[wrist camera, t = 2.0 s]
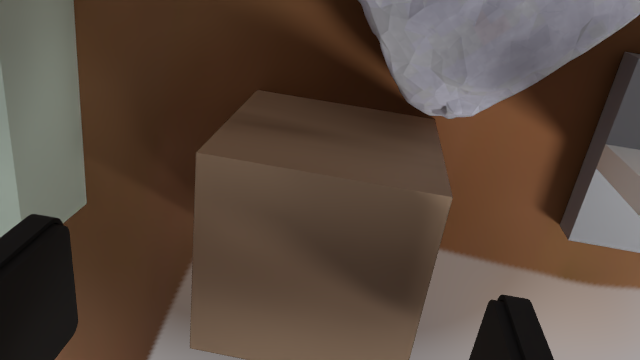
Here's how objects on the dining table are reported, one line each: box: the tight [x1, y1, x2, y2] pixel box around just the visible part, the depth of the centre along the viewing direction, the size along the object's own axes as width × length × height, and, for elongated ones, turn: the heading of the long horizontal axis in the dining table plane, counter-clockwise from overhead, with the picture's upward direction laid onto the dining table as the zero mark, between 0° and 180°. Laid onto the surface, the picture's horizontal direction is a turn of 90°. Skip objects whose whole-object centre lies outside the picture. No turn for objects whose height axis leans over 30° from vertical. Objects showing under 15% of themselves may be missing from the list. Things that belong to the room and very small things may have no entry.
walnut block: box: [190, 90, 453, 360], centre depth 16 cm, size 6×6×6 cm
